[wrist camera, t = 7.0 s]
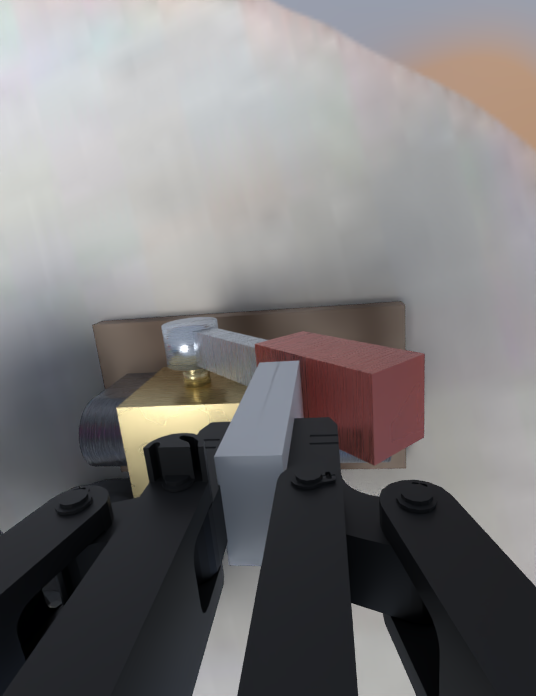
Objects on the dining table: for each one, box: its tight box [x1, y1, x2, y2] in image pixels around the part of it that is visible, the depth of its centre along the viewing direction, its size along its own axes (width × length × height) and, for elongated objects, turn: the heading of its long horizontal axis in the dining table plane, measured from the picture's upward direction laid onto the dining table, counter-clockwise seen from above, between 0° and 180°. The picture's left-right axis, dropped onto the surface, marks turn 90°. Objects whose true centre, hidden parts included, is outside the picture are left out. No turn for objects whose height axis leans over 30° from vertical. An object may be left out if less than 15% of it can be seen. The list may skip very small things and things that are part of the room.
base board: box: [92, 301, 406, 472], centre depth 32 cm, size 22×12×2 cm, turn 95°
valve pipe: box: [79, 367, 392, 498], centre depth 27 cm, size 18×7×8 cm, turn 95°
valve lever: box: [161, 317, 425, 466], centre depth 20 cm, size 3×3×16 cm
